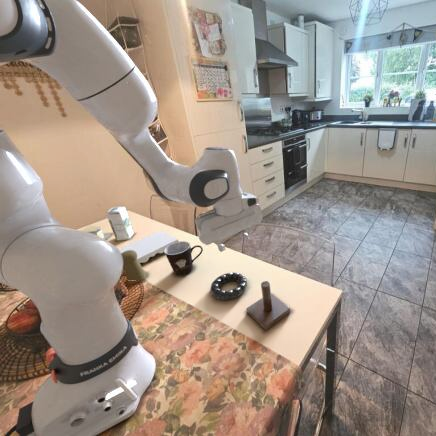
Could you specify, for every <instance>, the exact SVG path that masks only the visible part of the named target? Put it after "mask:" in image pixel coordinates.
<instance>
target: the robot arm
mask: <svg viewBox="0 0 436 436" xmlns="http://www.w3.org/2000/svg"><path fill="white" fill-rule="evenodd" d="M18 61H20V62H24V63H27V64H29V65H32V66H34V67H35V68H37V69H39V70H41V71H42V72H44V73H45V74H46V75H48V76H49V77H50V78H52V79H53V80H55V81H56V82H57V83H58V84H59V85H60V86H61V88H63V89H64V90H65V91H66V92H67V93H68V94H69V95H70V97H71V98H73V100H75V101H76V102H77V103H78V104H79V105H80V106H81V108H83V109H84V110H85V111H86V112H87V113H88V114H89V115H90V116H91V117H92V118H93V119H95V120H96V121H97V122H98V123H99V124H100V125H101V126H102V127H103V128H104V129H105V130H106V131H107V132H108V133H109V134H110V135H111V136H112V137H113V138H114V140H115V141H116V142H117V143H118V144H119V145H120V146H121V147H122V149H123V150H124V151H125V152H126V153H127V154H128V155H129V156H130V158H132V160H133V161H134V162H135V163H136V164H137V165H138V166H139V167H140V168H141V170H143V171H144V172H145V174H146V175H147V177H148V178H149V180H150V182H151V185H152V187H153V189H154V191H155V193H156V194H157V195H158V196H159V197H160V198H161V199H163V200H165V201H168V202H176V203H180V204H185V205H188V206H193V207H197V208H209V207H211V206H212V208H211V209H209V210H207V211H204V212H200V213H199V214H198V215H197V216H196V218H195V219H194V223H195V226H196V227H195V228H196V229H197V234H198V239H199V241H200V243H202V244H203V245H205V246H209V245H211V244H213V243H214V244H215V245H216V246H217V249H218V251H219V252H220V253H222V252H224V251H226V245H225V244H223V243H221V240H223V239H225V238H227V237H230V236H232V235H235V234H237V233H239V232H242V231H244V230H246V231H245V232H244V233H243V235H244V238H245V240H250V239H252V233H253V230H254V226H255V225H258V224H260V223H262V220H263V212H262V208H261V205H260V204H259V203H260V200H259V197H258V196H256V195H255V194H252V193H249V192H243V189H242V187H241V174H240V169H239V163H238V160H237V156H236V154H235V152H234V150H233V149H231V148H229V147H222V146H221V147H218V146H209V147H206V148H203V153H202V155H201V157H199V159H198V160H197V161H196V162H195V163H194V164H192V165H186V164H181V163H178V162H176V161H173V160H172V159H171V158H169V157H168V155H167V154H166V152H164V150H163V149H162V148H161V147H160V146H159V144H158V142H157V141H156V140H155V139H154V137H153V136H152V134H151V132H150V128H149V127H150V126H151V125H152V123H154V121H155V119H156V117H157V113H158V99H157V97H156V94H155V93H154V91H153V89H152V87H151V85H150V83H149V82H148V80H147V79H146V77H145V76H144V74H143V73H142V72H141V71H140V69H139V68H138V66H137V65H136V64H135V63H134V62H133V59H131V57H130V56H129V55H128V53H127V52H126V51H125V50H124V49H123V47H122V46H121V45H120V44H119V42H118V41H117V40H116V38H114V37H113V35H112V34H111V33H110V32H109V31H108V30H107V29H106V28H105V27H104V25H102V23H100V21H99V20H98V19H97V18H96V17H95V16H94V15H93V14H92V13H91V12H90V11H89V10H88V9H87V8H86V7H85V6H84V4H82V3H80V1H78V0H0V67H1V66H5V65H7V64H9V63H11V62H18ZM43 191H44V183H43V180H42V179H41V177H40V176H39V174H38V173H37V171H35V169H34V168H33V167H32V165H31V164H30V163H29V161H28V160H27V158H26V157H25V156H24V154H23V153H22V152H21V151H20V149H19V148H18V147H17V145H16V144H15V143H14V141H13V140H12V139H11V137H10V136H9V135H8V134H7V133H6V131H5V130H4V129H3V127H2V126H1V125H0V283H1V284H3V285H5V286H8V287H11V288H13V289H15V290H17V291H19V292H20V293H22V294H24V295H25V297H27V298H29V299H30V301H31V302H33V304H34V306H35V307H36V309H37V310H38V314H39V316H40V320H41V322H40V324H39V325H40V326H39V330H40V333H41V335H42V336H43V337H44V339H45V340H46V341H47V343H48V344H49V346H50V348H49V349H48V350H47V351H46V353H45V361H46V362H47V363H48V371H49V373H50V375H49V376H48V377H47V378H46V379H45V380H44V382H43V383H42V384H40V386H39V387H38V388H37V390H36V392H35V394H34V397H33V401H31V402H30V403H28V404H26V405H24V406H22V407H20V408H19V409H18V415H17V421H16V423H15V425H14V426H13V427H12V428H10V429H9V430H8V431H7V432H6V434H4V436H11V435H12V434H13V433H14V432H16V433H17V434H18V436H97V435H99V434H101V433H103V432H105V431H107V430H109V429H110V428H112V427H114V426H116V425H117V424H119V423H121V422H123V421H124V420H127V419H128V418H130V417H132V415H134V414H135V412H136V410H137V409H138V406H139V404H140V400H141V398H142V396H143V395H144V393H145V391H147V389H148V388H149V386H150V384H151V382H152V381H153V378H154V376H155V374H156V367H157V363H156V359H155V357H154V356H153V355H152V354H151V353H150V352H148V351H147V350H146V349H145V348H144V347H143V346H142V345H141V343H140V342H139V337H138V335H137V332H136V330H135V328H134V325H133V323H131V321H130V320H129V318H127V317H125V315H124V312H123V310H122V308H121V306H120V303H119V301H118V298H117V297H116V293H115V286H116V285H117V283H118V282H119V280H120V278H121V277H122V275H123V274H122V273H123V270H124V265H123V258H122V255H121V253H120V251H119V250H118V249H119V248H118V247H117V246H115V245H114V244H112V243H111V242H109V241H108V240H107V239H105V240H104V239H103V238H101V237H99V236H97V235H95V234H93V233H89V232H85V231H83V230H80V229H75V228H71V227H67V226H66V225H63V224H62V223H61V222H59V221H58V220H57V219H56V217H54V215H53V214H52V211H51V210H50V208H49V206H48V204H47V201H46V199H45V196H44V193H43Z"/></svg>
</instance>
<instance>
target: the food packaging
mask: <svg viewBox="0 0 436 436" xmlns="http://www.w3.org/2000/svg"><path fill="white" fill-rule="evenodd" d="M175 242H179V239H178V238H176V237H174V236H172V235H171V234H168V233H167V232H165V231H163V230H158V231H156V232H153V233H151V234H149V235H147V236H145V237H142V238H140V239H138V240H135V241H134V242H131V243H129V244H127V245H125V246H122V247H119V248H118V250H119V251H120V253H123V252H125V251H128V250H133V251H135V252H136V253H137V260H138V262H139V263H140V264H142V263H143V264H144V263H147V262H148V261H149V260H150V258H151V257H152V258H153V257H155V256H156V254H163V253H164V249H165V248H166V247H167V246H169V245H170V244H172V243H175Z"/></svg>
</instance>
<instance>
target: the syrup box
mask: <svg viewBox="0 0 436 436" xmlns="http://www.w3.org/2000/svg"><path fill="white" fill-rule="evenodd" d="M105 215H106V217H107V220H108V223H109V224H110V228H111V231H112V234H113V236H114V237H115V240H116V241H126V240H130V239H131V238H132V237H133V235H135V232H134V229H133V226H132V223H131V220H130V217H129V214H128V212H127V209H126V206H114V207H110V209H108V211H106V212H105Z"/></svg>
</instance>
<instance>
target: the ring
mask: <svg viewBox="0 0 436 436" xmlns="http://www.w3.org/2000/svg"><path fill="white" fill-rule="evenodd" d="M230 281H235V282H237V283H238V285H237V286H236V287H234V288H233V289H231V290H226V291H225V290H221V289H220V287H221V286H222V284H224V283H227V282H230ZM247 287H248V280H247V277H245V276H244V275H243V274H242V273H239V272H233V271H232V272H226V273H223V274H221V275H219V276H218V277H216V278H215V279H214V280H213V281H212V283H211V284H210V293H211V295H212V296H213V297H214V298H215V299H216V300H221V301H228V300H229V301H230V300H233V299H237V297H239V296H241V295H242V294H243V293H245V291H246V289H247Z"/></svg>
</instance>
